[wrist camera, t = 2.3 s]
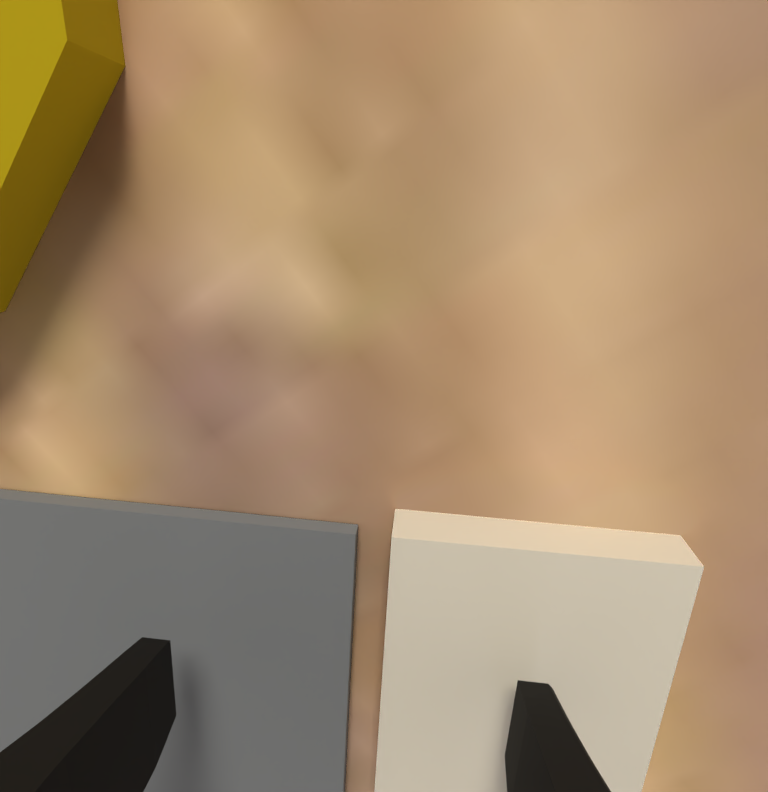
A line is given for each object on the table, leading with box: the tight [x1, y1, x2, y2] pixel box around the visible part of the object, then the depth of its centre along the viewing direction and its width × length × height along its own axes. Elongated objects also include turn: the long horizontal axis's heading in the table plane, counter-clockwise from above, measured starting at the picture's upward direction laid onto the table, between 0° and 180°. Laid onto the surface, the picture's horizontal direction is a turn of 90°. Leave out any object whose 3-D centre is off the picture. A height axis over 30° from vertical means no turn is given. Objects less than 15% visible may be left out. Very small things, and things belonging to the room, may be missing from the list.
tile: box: [374, 509, 704, 792], centre depth 13 cm, size 7×2×6 cm
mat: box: [0, 489, 358, 792], centre depth 15 cm, size 16×16×1 cm
